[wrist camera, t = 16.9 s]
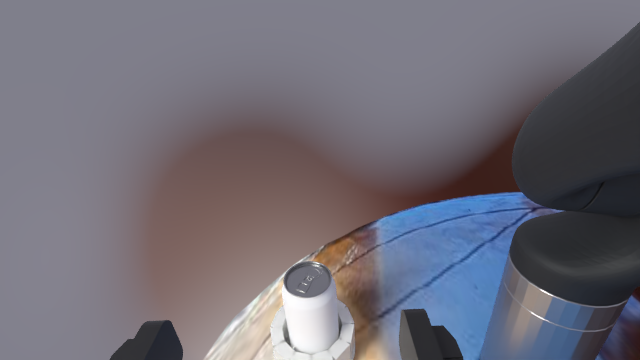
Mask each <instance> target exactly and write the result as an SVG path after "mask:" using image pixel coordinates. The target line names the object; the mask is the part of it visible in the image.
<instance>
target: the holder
mask: <svg viewBox="0 0 640 360" xmlns="http://www.w3.org/2000/svg"><path fill="white" fill-rule="evenodd" d="M337 309H338V326H339V339H338V340H337V341H336V342H335V343H334V344H333V345H332V346H331V347H330V348H329V349H328V350H326V351H323V352H319V353H316V354H313V355H310V354H305V353H300V352H296V351H294V350H293V349H292V348H291V343H290V338H289V332H288V327H287V321H286V315H285V310H284V305H283V306H282V307H281V308H279V311H277V313H276V315H275V317H274V320H273V322H272V324H271V328H270V331H271V338H272V345H273V353H274V359H275V360H354V357H355V332H354V321H353V319H352V316H351V314H350V312H349V309H348V307H346V305H345V304H344V303H342V302H341V301H339V300H338V299H337Z"/></svg>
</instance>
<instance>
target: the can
mask: <svg viewBox="0 0 640 360" xmlns="http://www.w3.org/2000/svg"><path fill="white" fill-rule="evenodd" d="M282 297H283V304H284V310H285V315H286V321H287V327H288V332H289V338H290V343H291V348H292V349H293V350H294V351H296V352H300V353H305V354H310V355H313V354H316V353H319V352H323V351H326V350H328V349H329V348H330V347H331V346H332V345H333V344H334V343H335V342H336V341H337V340H338V339H339V326H338V309H337V294H336V285H335V281H334V279H333V278H332V275H331V272H330V270H329V269H328V268H327V267H326V266H325V265H323V264H321V263H318V262H314V261H307V262H301V263H298V264H296V265H294V266H293V267H291V268H290V269H289V270H288V271H287V273H286V274H285V276H284V284H283V287H282Z"/></svg>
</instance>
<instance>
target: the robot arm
mask: <svg viewBox="0 0 640 360" xmlns="http://www.w3.org/2000/svg"><path fill="white" fill-rule="evenodd" d="M512 169H513V174H514V178H515V180H516V183H517V185H518V187H519V188H520V190H521V192H522V193H523V194H524V195H525V196H526V197H527V198H529V199H530V200H531V201H533V202H534V203H536V204H539V205H542V206H545V207H548V208H552V209H556V210H564V212H560V213H555V214H550V215H544V216H540V217H535V218H533V219H530V220H528V221H526V222H524V223H523V224H521V225H520V226H519V227H518V228H517V230H516V231H515V234H514V236H513V239H512V242H511V246H510V250H509V253H508V257H507V260H506V264H505V268H504V272H503V275H502V279H501V282H500V286H499V290H498V293H497V297H496V300H495V304H494V307H493V311H492V315H491V318H490V322H489V325H488V329H487V332H486V336H485V339H484V343H483V347H482V350H481V354H480V360H595V358H596V357H597V355H598V353H599V351H600V349H601V348H602V346H603V344H604V342H605V341H606V339H607V337H608V335H609V334H610V332H611V330H612V328H613V326H614V325H615V323H616V321H617V319H618V317H619V315H620V314H621V312H622V310H623V308H624V306H625V305H626V303H627V301H628V299H629V298H630V296H631V294H632V293H633V291H634V289H635V288H636V287H638V286H640V22H639V23H638V24H637V25H636V26H635V27H634V28H633V29H632V30H630V31H629V32H628V33H627V34H626V35H625V36H624V37H623V38H621V39H620V40H619V41H618V42H617V43H616V44H614V45H613V46H612V47H611V48H609V49H608V50H607V51H606V52H605V53H603V54H602V55H601V56H599V57H598V58H597V59H596V60H594V61H593V62H592V63H590V64H589V65H588V66H586V67H585V68H584V69H582V70H581V71H580V72H578V73H577V74H576V75H574V76H573V77H572V78H571V79H569V80H568V81H566V82H565V83H564V84H562V85H561V86H560V87H558V88H557V89H556V90H554V91H553V92H552V93H550V94H549V95H548V96H547V97H546V98H545V99H543V100H542V101H541V102H540V103H539V104H538V106H537V107H536V108H535V109H534V110H533V111H532V112H531V113H530V115H529V116H528V118H527V119H526V121H525V122H524V124H523V126H522V128H521V130H520V132H519V134H518V137H517V139H516V142H515V146H514V150H513V155H512ZM399 346H400V353H401V358H402V360H463V356H462V354H461V351H460V349H459V347H458V344H457V342H456V340H455V339H454V337H453V336H452V335H451V334H450V333H449V332H448V331H447V329H446V328H445V327H444V326H431V324H430V321H429V318H428V315H427V313H426V311H425V310H424V309H407V310H402V311H401V319H400V332H399ZM182 357H183V349H182V345H181V343H180V341H179V338H178V336H177V334H176V332H175V329H174V327H173V325H172V323H171V321H169V320H164V321H147V322H145V323H144V324H143V325H142V326H141V328H140V329H139V331H138V333H137V335H136V336H135V338H134V339H128V340H127V341H126V342H125V343H124V344H123V345H122V346H121V347H120V348H119V349H118V350H117V351H116V352H115V353H114V354H113V355H112V357H111V358H110V360H182Z"/></svg>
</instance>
